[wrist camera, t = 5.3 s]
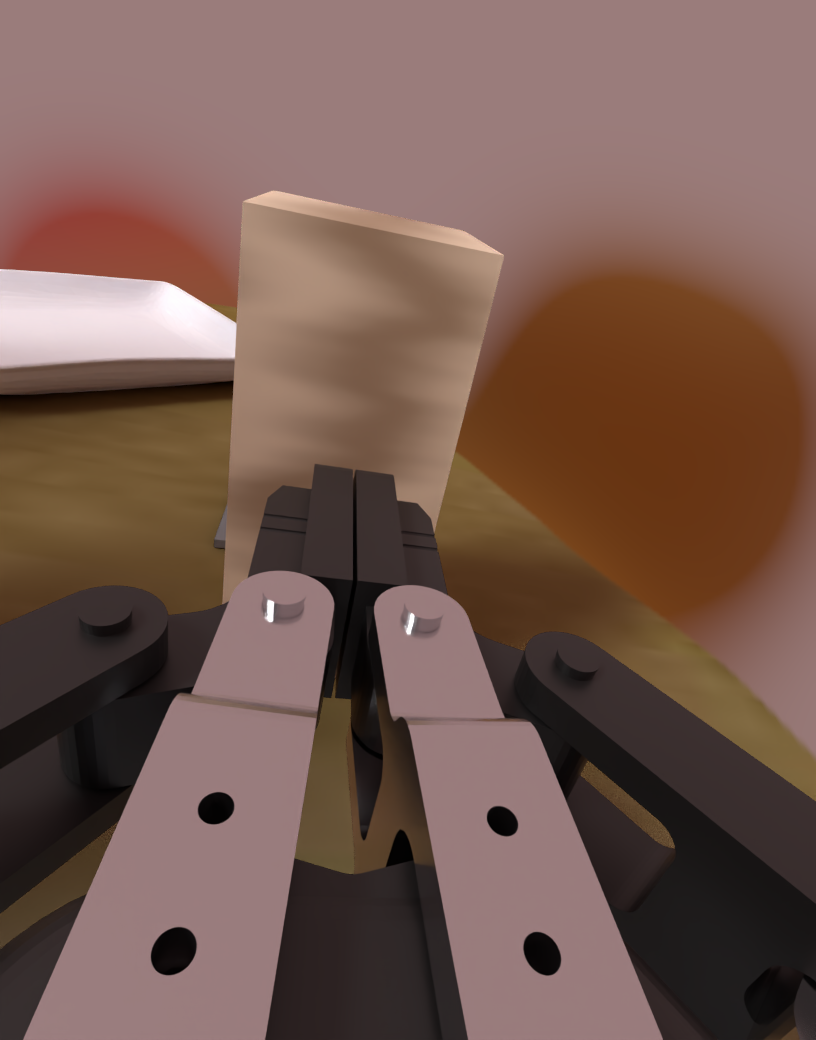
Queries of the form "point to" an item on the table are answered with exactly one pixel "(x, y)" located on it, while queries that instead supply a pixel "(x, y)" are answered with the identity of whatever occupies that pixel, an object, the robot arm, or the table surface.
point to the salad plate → (106, 335)
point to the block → (348, 353)
